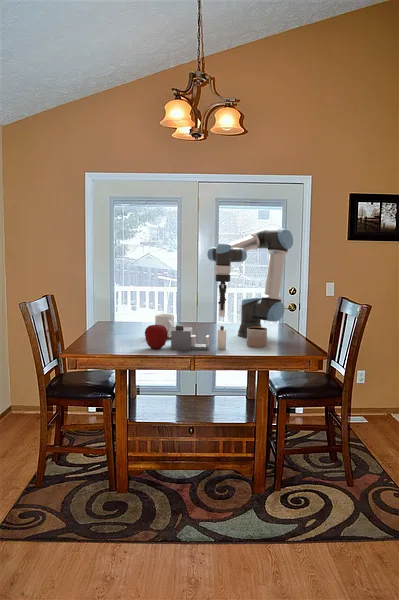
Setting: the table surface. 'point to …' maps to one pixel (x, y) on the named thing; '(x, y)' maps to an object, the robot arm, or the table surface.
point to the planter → (256, 336)
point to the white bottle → (221, 338)
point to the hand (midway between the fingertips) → (222, 314)
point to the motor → (185, 339)
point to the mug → (165, 321)
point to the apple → (156, 336)
